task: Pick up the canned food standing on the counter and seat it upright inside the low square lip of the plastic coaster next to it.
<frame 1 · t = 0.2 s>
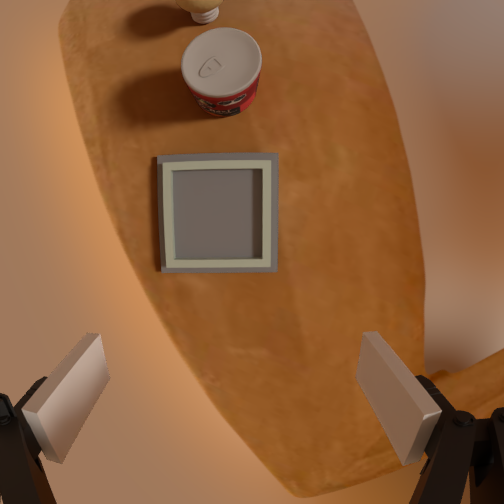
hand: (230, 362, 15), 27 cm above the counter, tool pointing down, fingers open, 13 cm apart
coaster: (217, 213, 40), on the counter
light bulb: (205, 15, 35), on the counter
canned food: (225, 90, 37), on the counter
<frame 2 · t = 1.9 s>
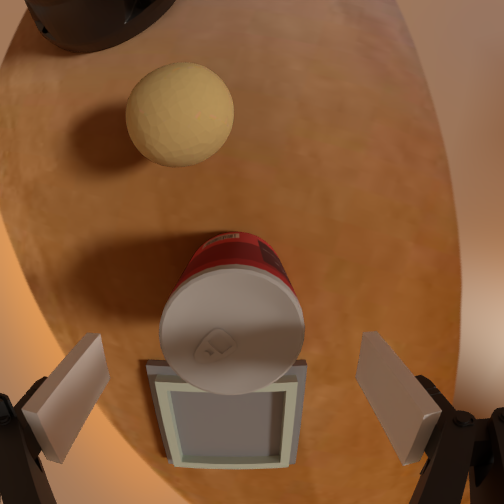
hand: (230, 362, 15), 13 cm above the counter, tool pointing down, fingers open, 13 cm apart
coaster: (228, 418, 31), on the counter
light bulb: (195, 130, 24), on the counter
canned food: (234, 275, 27), on the counter
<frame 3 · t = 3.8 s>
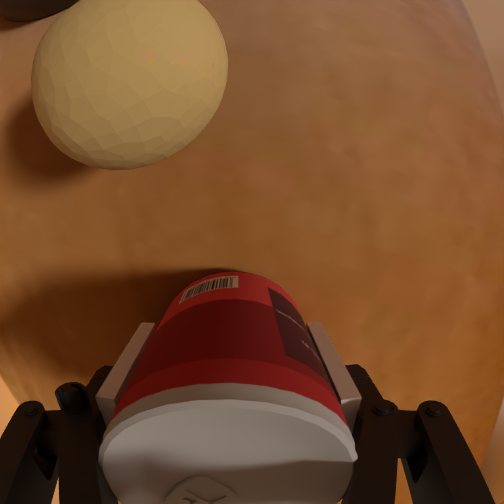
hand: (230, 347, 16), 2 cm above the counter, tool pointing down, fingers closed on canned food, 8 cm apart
light bulb: (172, 114, 15), on the counter
canned food: (231, 330, 18), on the counter, touching gripper
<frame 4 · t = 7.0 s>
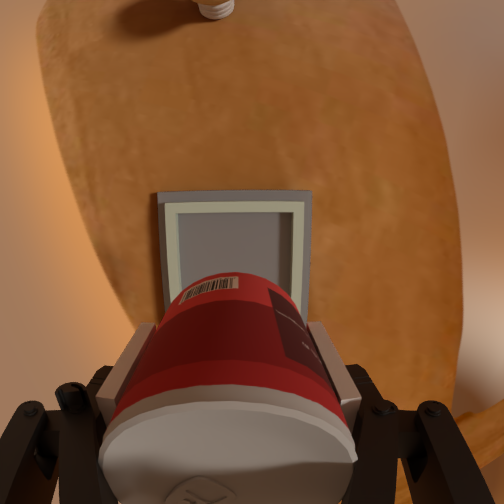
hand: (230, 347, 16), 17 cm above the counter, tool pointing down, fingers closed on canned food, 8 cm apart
coaster: (235, 264, 33), on the counter
light bulb: (217, 9, 27), on the counter
canned food: (231, 331, 18), point 15 cm above the counter, touching gripper
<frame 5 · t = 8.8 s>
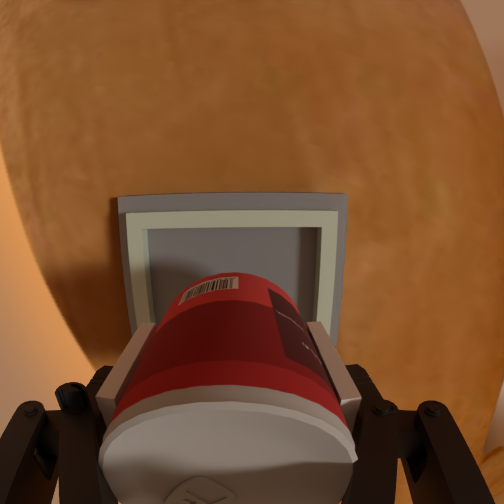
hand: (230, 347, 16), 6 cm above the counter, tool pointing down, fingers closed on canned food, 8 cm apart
coaster: (233, 300, 22), on the counter
canned food: (231, 331, 18), point 5 cm above the counter, touching gripper
when the fingers open (4 cm above the counter, at t = 10.2 s): canned food drops 1 cm, resting on coaster.
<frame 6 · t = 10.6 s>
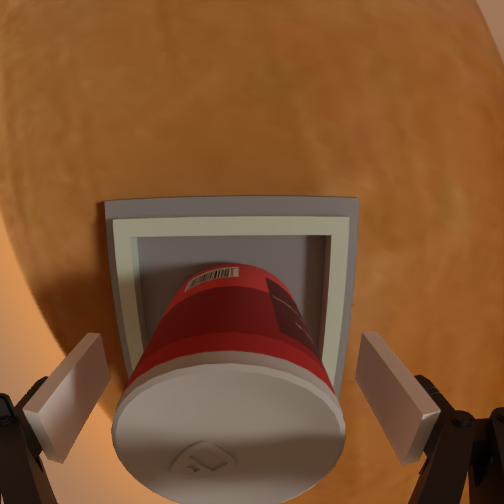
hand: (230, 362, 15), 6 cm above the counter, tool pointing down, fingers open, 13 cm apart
coaster: (232, 315, 20), on the counter
canned food: (232, 319, 20), point 1 cm above the counter, touching coaster
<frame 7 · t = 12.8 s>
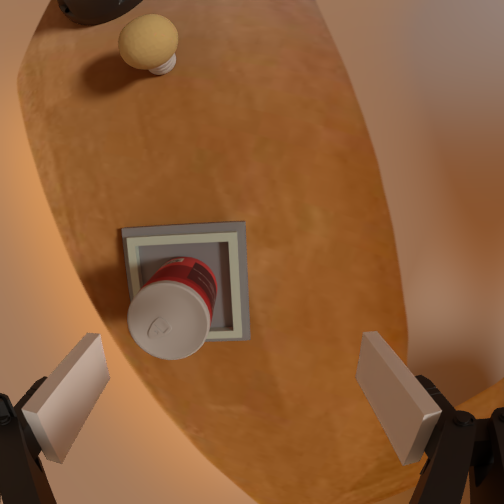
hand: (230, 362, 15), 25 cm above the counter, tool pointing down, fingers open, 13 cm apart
coaster: (187, 284, 39), on the counter
light bulb: (162, 63, 34), on the counter
canned food: (186, 285, 39), point 1 cm above the counter, touching coaster
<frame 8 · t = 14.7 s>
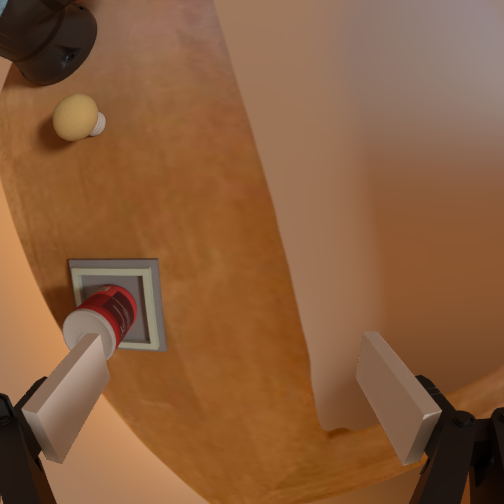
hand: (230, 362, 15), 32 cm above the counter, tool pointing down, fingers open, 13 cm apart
coaster: (117, 304, 47), on the counter
light bulb: (96, 124, 41), on the counter
canned food: (116, 306, 46), point 1 cm above the counter, touching coaster
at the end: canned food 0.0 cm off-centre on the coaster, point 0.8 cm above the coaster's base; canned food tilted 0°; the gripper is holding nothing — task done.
